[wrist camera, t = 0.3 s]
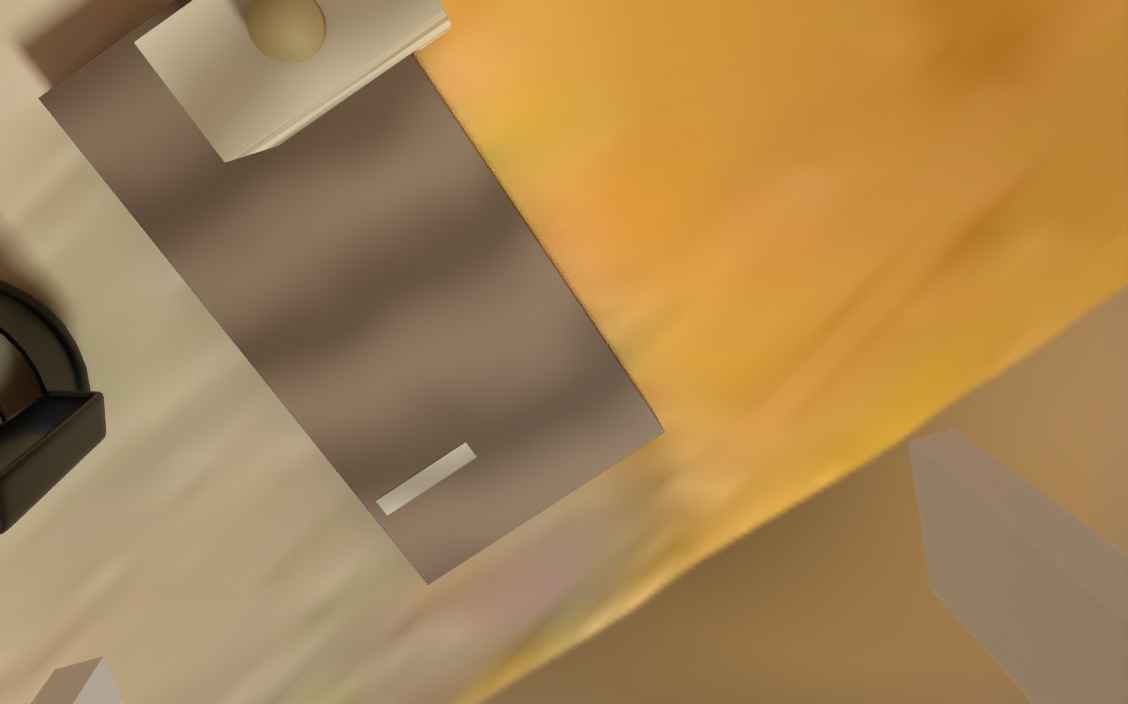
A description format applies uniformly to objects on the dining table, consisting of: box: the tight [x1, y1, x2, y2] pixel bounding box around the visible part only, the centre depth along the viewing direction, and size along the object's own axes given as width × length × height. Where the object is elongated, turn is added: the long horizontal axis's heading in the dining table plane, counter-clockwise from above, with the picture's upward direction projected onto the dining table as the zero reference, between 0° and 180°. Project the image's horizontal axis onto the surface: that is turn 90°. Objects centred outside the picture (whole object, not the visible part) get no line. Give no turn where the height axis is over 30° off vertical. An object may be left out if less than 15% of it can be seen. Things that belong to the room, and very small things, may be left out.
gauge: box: [134, 0, 452, 162], centre depth 32 cm, size 4×8×10 cm, turn 123°
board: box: [39, 0, 665, 585], centre depth 39 cm, size 24×12×2 cm, turn 33°
